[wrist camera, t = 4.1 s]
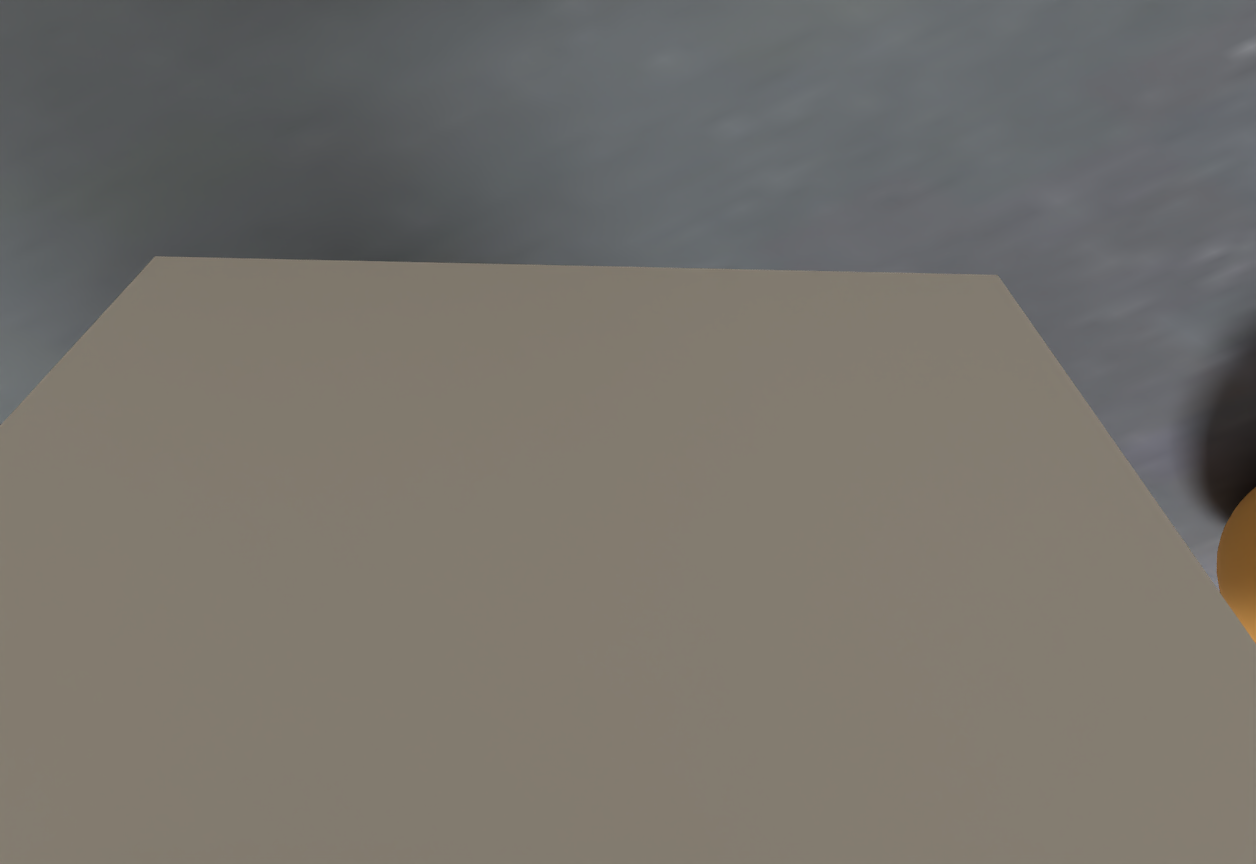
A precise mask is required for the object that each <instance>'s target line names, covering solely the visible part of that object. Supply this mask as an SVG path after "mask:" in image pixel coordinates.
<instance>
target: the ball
mask: <svg viewBox="0 0 1256 864" xmlns="http://www.w3.org/2000/svg"><path fill="white" fill-rule="evenodd" d="M1217 577H1218V583H1219V589H1220V593H1221V595H1222V596H1223V598H1224V599H1225V601H1226V602H1227V603H1228V605H1229V606H1230V608H1231V609H1232V611H1233V612H1234V613H1235V615H1236V616H1237V618H1238V619H1239V621H1240V622H1241V623H1242V625H1243V626H1244V628H1245V629H1246V631H1247V632H1248V633H1249V635H1250V636H1251V638H1252V639H1253V641H1254V642H1255V643H1256V487H1255V488H1254V489H1253V490H1252V491H1251V492H1249V493H1248V494H1247V495H1246V496H1245V497H1244V498H1243V500H1242V501H1241V502H1240V503H1239V504H1238V506H1237V507H1236V508H1235V510H1234V511H1233V513H1232V515H1231V516H1230V518H1229V520H1228V522H1227V523H1226V525H1225V527H1224V530H1223V532H1222V535H1221V539H1220V543H1219V547H1218V552H1217Z"/></svg>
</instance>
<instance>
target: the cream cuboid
mask: <svg viewBox="0 0 1256 864" xmlns="http://www.w3.org/2000/svg"><path fill="white" fill-rule="evenodd" d="M0 864H1256V643H1255V642H1254V641H1253V639H1252V638H1251V636H1250V635H1249V633H1248V632H1247V631H1246V629H1245V628H1244V626H1243V625H1242V623H1241V622H1240V621H1239V619H1238V618H1237V616H1236V615H1235V613H1234V612H1233V611H1232V609H1231V608H1230V606H1229V605H1228V603H1227V602H1226V601H1225V599H1224V598H1223V596H1222V595H1221V593H1220V592H1219V591H1218V589H1217V588H1216V586H1215V585H1214V583H1213V582H1212V581H1211V579H1210V578H1209V576H1208V575H1207V573H1206V572H1205V571H1204V569H1203V568H1202V566H1201V565H1200V563H1199V562H1198V561H1197V559H1196V558H1195V556H1194V555H1193V553H1192V552H1191V551H1190V549H1189V548H1188V546H1187V545H1186V543H1185V542H1184V541H1183V539H1182V538H1181V536H1180V535H1179V533H1178V532H1177V531H1176V529H1175V528H1174V526H1173V525H1172V523H1171V522H1170V521H1169V519H1168V518H1167V516H1166V515H1165V513H1164V512H1163V511H1162V509H1161V508H1160V506H1159V505H1158V503H1157V502H1156V501H1155V499H1154V498H1153V496H1152V495H1151V493H1150V492H1149V491H1148V489H1147V488H1146V486H1145V485H1144V483H1143V482H1142V481H1141V479H1140V478H1139V476H1138V475H1137V473H1136V472H1135V471H1134V469H1133V468H1132V466H1131V465H1130V463H1129V462H1128V461H1127V459H1126V458H1125V456H1124V455H1123V453H1122V452H1121V451H1120V449H1119V448H1118V446H1117V445H1116V443H1115V442H1114V441H1113V439H1112V438H1111V436H1110V435H1109V433H1108V432H1107V431H1106V429H1105V428H1104V426H1103V425H1102V423H1101V422H1100V421H1099V419H1098V418H1097V416H1096V415H1095V413H1094V412H1093V411H1092V409H1091V408H1090V406H1089V405H1088V403H1087V402H1086V401H1085V399H1084V398H1083V396H1082V395H1081V393H1080V392H1079V391H1078V389H1077V388H1076V386H1075V385H1074V383H1073V382H1072V381H1071V379H1070V378H1069V376H1068V375H1067V373H1066V372H1065V371H1064V369H1063V368H1062V366H1061V365H1060V363H1059V362H1058V361H1057V359H1056V358H1055V356H1054V355H1053V353H1052V352H1051V351H1050V349H1049V348H1048V346H1047V345H1046V343H1045V342H1044V341H1043V339H1042V338H1041V336H1040V335H1039V333H1038V332H1037V331H1036V329H1035V328H1034V326H1033V325H1032V323H1031V322H1030V321H1029V319H1028V318H1027V316H1026V315H1025V313H1024V312H1023V311H1022V309H1021V308H1020V306H1019V305H1018V303H1017V302H1016V301H1015V299H1014V298H1013V296H1012V295H1011V293H1010V292H1009V291H1008V289H1007V288H1006V286H1005V285H1004V283H1003V282H1002V281H1001V279H1000V278H999V276H998V275H975V274H930V273H884V272H839V271H794V270H749V269H703V268H658V267H613V266H567V265H522V264H477V263H432V262H386V261H341V260H296V259H250V258H205V257H160V256H155V257H154V258H153V259H152V260H151V261H150V262H149V264H148V265H147V266H146V267H145V268H144V269H143V270H142V271H141V272H140V273H139V274H138V276H137V277H136V278H135V279H134V280H133V281H132V282H131V283H130V284H129V285H128V286H127V288H126V289H125V290H124V291H123V292H122V293H121V294H120V295H119V296H118V297H117V299H116V300H115V301H114V302H113V303H112V304H111V305H110V306H109V307H108V308H107V309H106V311H105V312H104V313H103V314H102V315H101V316H100V317H99V318H98V319H97V320H96V322H95V323H94V324H93V325H92V326H91V327H90V328H89V329H88V330H87V331H86V332H85V334H84V335H83V336H82V337H81V338H80V339H79V340H78V341H77V342H76V343H75V345H74V346H73V347H72V348H71V349H70V350H69V351H68V352H67V353H66V354H65V355H64V357H63V358H62V359H61V360H60V361H59V362H58V363H57V364H56V365H55V366H54V368H53V369H52V370H51V371H50V372H49V373H48V374H47V375H46V376H45V377H44V378H43V380H42V381H41V382H40V383H39V384H38V385H37V386H36V387H35V388H34V389H33V391H32V392H31V393H30V394H29V395H28V396H27V397H26V398H25V399H24V400H23V401H22V403H21V404H20V405H19V406H18V407H17V408H16V409H15V410H14V411H13V412H12V414H11V415H10V416H9V417H8V418H7V419H6V420H5V421H4V422H3V423H2V424H1V426H0Z"/></svg>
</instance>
